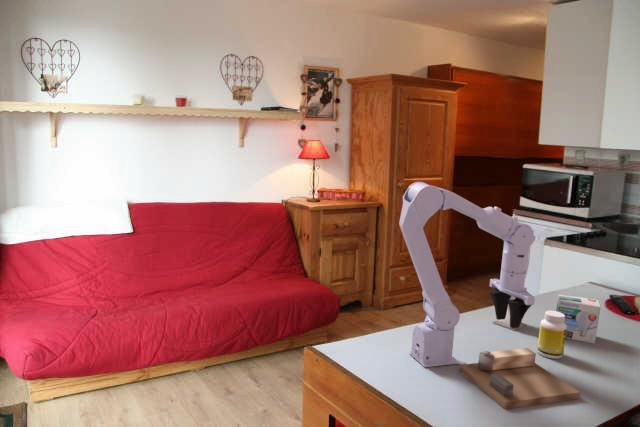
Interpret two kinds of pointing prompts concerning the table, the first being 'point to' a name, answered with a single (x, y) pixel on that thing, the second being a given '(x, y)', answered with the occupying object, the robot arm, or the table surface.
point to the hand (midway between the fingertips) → (507, 323)
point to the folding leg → (506, 359)
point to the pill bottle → (552, 335)
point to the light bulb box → (579, 317)
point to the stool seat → (520, 385)
